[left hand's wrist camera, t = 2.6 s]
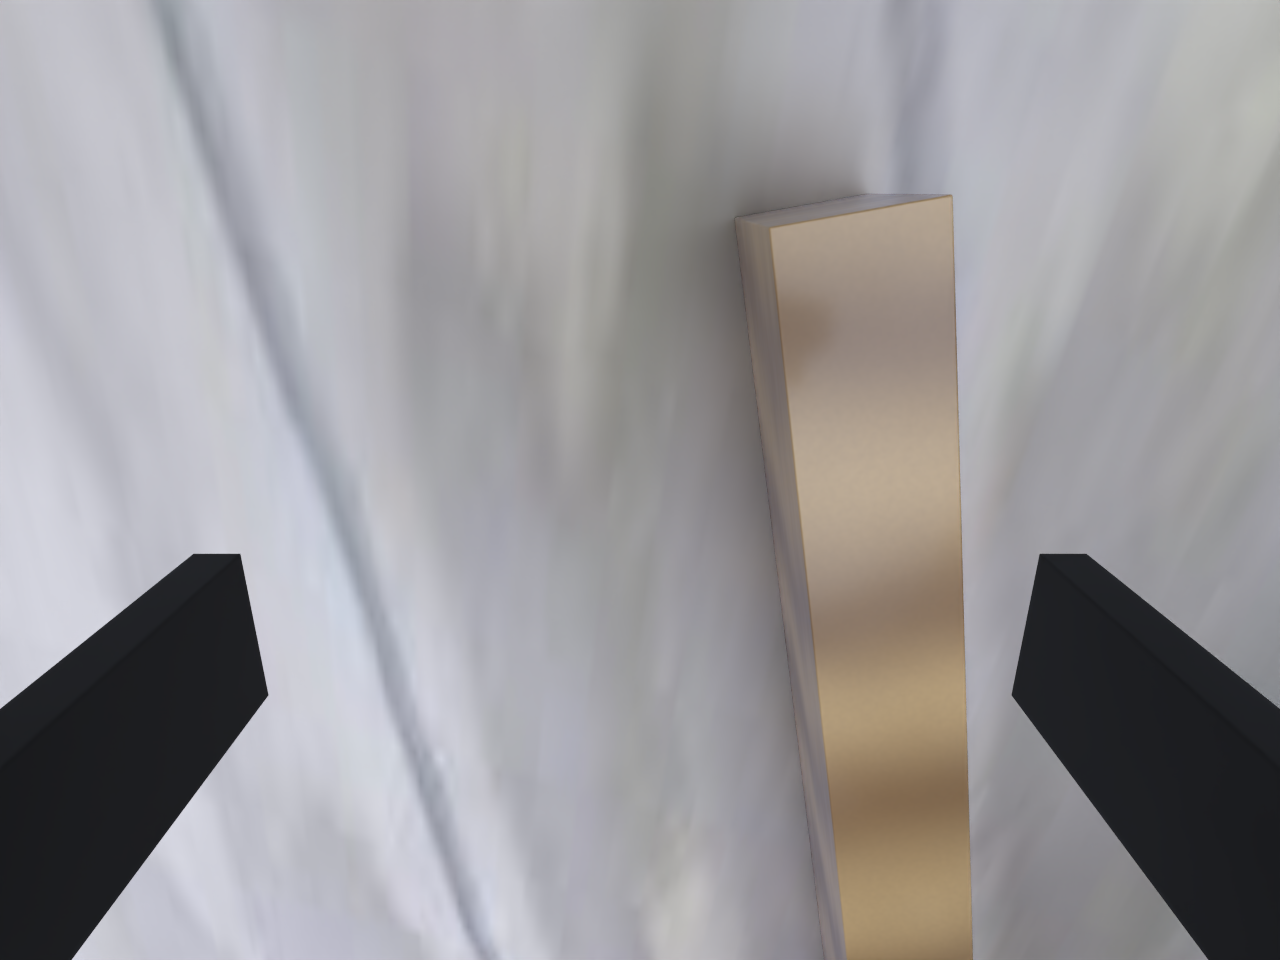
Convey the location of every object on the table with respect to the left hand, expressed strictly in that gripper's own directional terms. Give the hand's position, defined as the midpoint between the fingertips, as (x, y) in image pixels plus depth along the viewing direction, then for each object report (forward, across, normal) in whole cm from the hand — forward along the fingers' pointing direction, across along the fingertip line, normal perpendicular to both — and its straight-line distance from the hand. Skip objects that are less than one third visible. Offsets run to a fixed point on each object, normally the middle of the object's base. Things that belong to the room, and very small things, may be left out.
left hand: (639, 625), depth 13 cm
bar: (+20, +11, -24) cm, 33 cm away
